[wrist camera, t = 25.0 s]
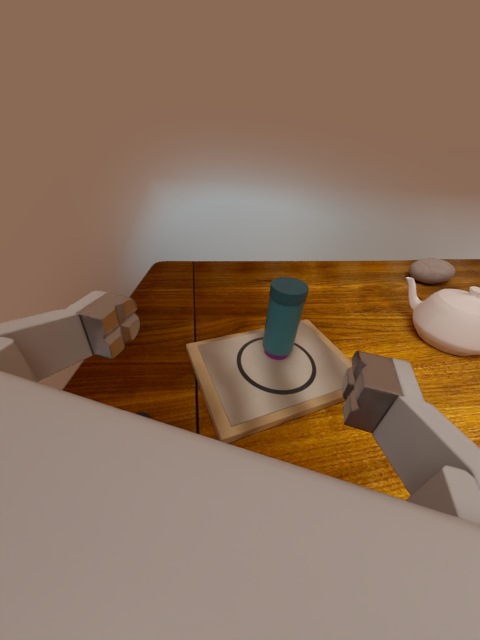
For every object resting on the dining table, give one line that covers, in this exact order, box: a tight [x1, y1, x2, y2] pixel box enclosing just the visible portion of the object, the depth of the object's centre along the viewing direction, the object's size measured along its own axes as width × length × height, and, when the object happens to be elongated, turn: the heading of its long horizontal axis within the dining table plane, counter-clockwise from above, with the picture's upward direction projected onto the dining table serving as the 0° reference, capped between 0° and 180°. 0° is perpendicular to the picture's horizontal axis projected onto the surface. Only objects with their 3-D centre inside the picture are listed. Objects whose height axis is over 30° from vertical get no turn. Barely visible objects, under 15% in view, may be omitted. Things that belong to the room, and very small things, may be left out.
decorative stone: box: [409, 258, 455, 284], centre depth 66 cm, size 13×9×5 cm
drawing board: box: [186, 319, 352, 443], centre depth 37 cm, size 22×16×2 cm
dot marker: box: [263, 277, 309, 360], centre depth 35 cm, size 5×5×11 cm
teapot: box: [405, 277, 480, 356], centre depth 44 cm, size 20×12×10 cm, turn 36°
